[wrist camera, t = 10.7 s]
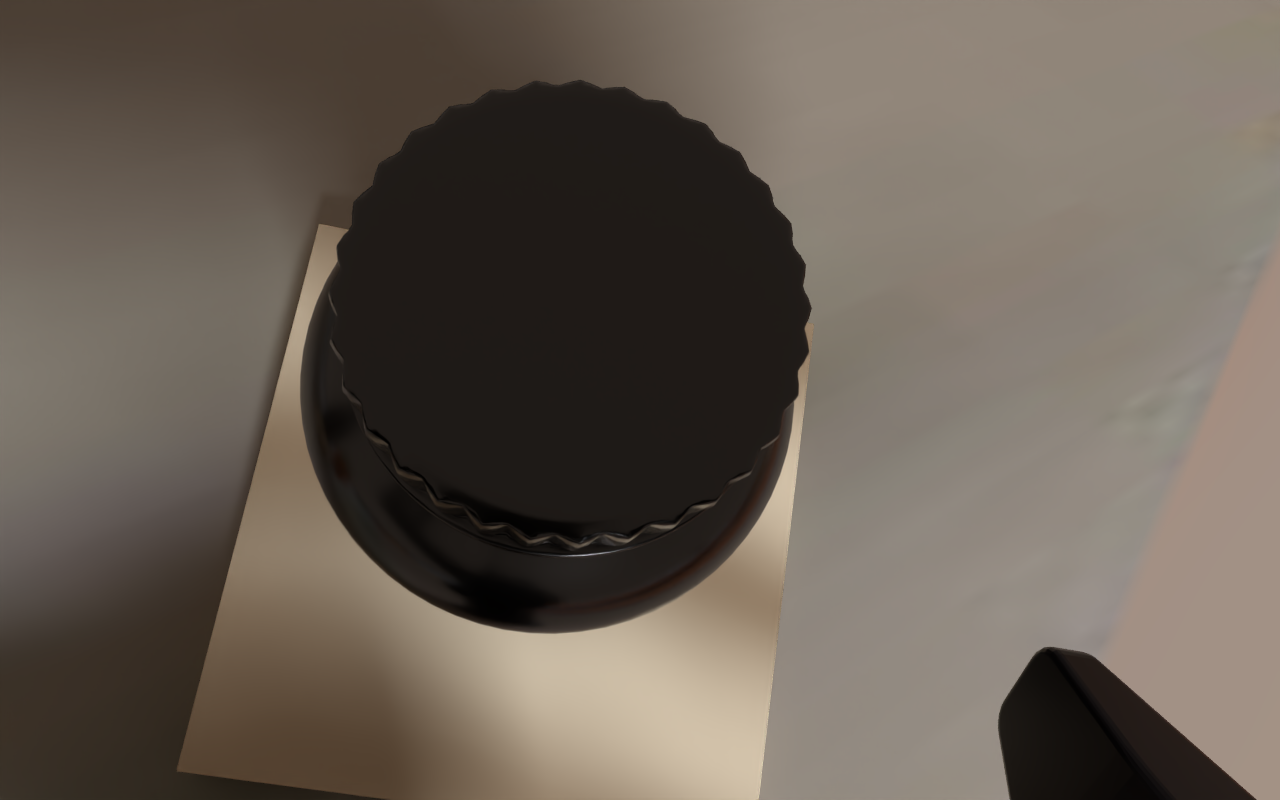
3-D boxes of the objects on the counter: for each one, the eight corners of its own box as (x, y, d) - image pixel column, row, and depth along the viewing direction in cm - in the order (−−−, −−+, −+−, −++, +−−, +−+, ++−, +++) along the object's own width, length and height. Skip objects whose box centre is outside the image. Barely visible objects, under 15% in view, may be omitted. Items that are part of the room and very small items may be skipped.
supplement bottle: (322, 407, 20) (69, 141, 8) (585, 268, 21) (686, -118, 10) (477, 680, 19) (441, 813, 7) (737, 515, 21) (1040, 413, 9)
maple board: (738, 834, 20) (753, 848, 19) (196, 760, 19) (176, 771, 18) (798, 337, 23) (813, 323, 22) (329, 243, 22) (319, 223, 21)
